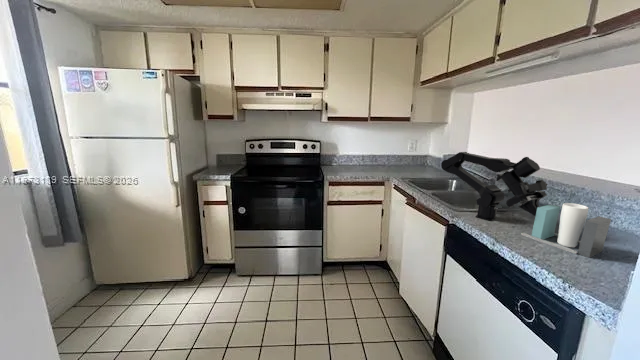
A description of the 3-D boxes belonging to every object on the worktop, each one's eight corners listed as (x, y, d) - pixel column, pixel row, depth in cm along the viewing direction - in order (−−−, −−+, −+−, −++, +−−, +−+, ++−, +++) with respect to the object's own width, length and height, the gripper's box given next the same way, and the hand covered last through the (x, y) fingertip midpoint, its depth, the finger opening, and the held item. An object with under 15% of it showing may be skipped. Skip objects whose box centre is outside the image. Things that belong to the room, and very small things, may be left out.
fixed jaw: (521, 234, 106) (527, 205, 103) (537, 230, 111) (543, 202, 108) (587, 258, 88) (597, 224, 86) (603, 251, 93) (612, 218, 91)
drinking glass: (580, 245, 97) (589, 206, 94) (577, 251, 93) (587, 210, 90) (555, 239, 102) (564, 201, 99) (552, 244, 98) (561, 205, 95)
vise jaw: (531, 237, 103) (537, 207, 101) (544, 232, 108) (551, 204, 105) (540, 240, 101) (546, 210, 98) (553, 235, 105) (560, 206, 102)
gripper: (520, 174, 101) (549, 211, 94) (545, 171, 109) (574, 205, 102) (495, 190, 110) (520, 224, 102) (521, 186, 118) (545, 217, 111)
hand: (540, 217), depth 104 cm, fingers closed, pressing on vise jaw
